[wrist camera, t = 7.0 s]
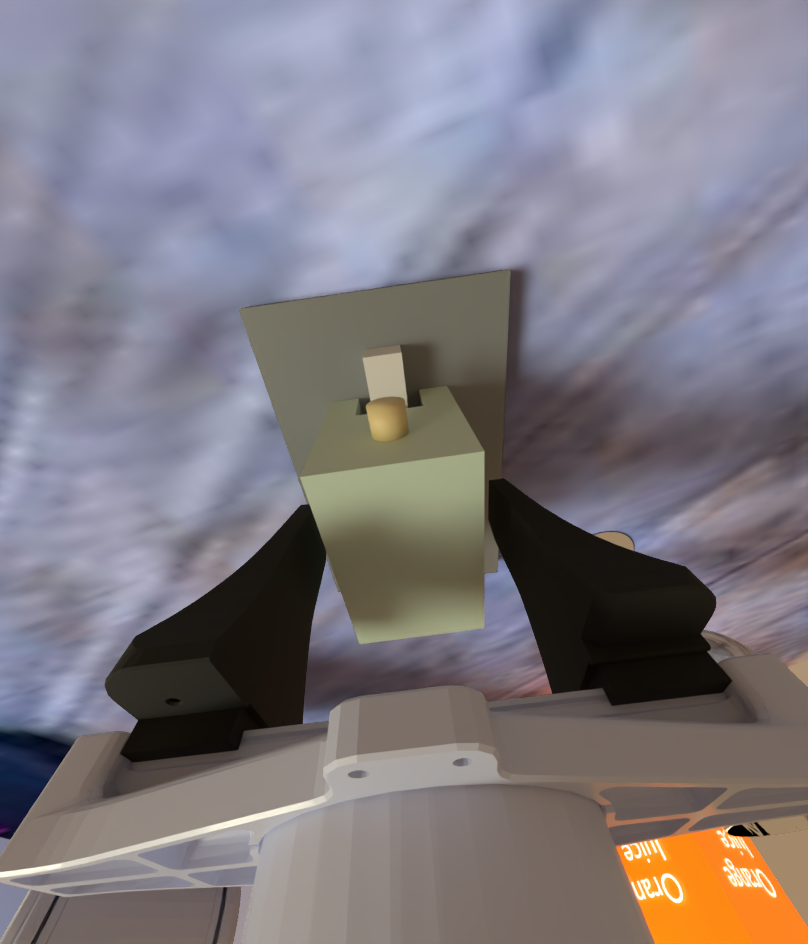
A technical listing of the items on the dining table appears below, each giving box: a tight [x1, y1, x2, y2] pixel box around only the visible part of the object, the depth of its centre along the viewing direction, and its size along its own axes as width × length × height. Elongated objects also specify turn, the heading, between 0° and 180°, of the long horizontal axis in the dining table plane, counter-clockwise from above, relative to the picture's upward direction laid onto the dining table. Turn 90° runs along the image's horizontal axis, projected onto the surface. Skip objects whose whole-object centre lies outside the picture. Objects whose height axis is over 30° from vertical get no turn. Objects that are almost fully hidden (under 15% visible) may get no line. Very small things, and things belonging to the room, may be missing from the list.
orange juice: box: [616, 828, 808, 944], centre depth 24 cm, size 8×9×20 cm
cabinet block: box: [300, 386, 484, 644], centre depth 13 cm, size 9×5×6 cm, turn 7°
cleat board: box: [239, 270, 511, 592], centre depth 16 cm, size 16×10×2 cm, turn 7°
